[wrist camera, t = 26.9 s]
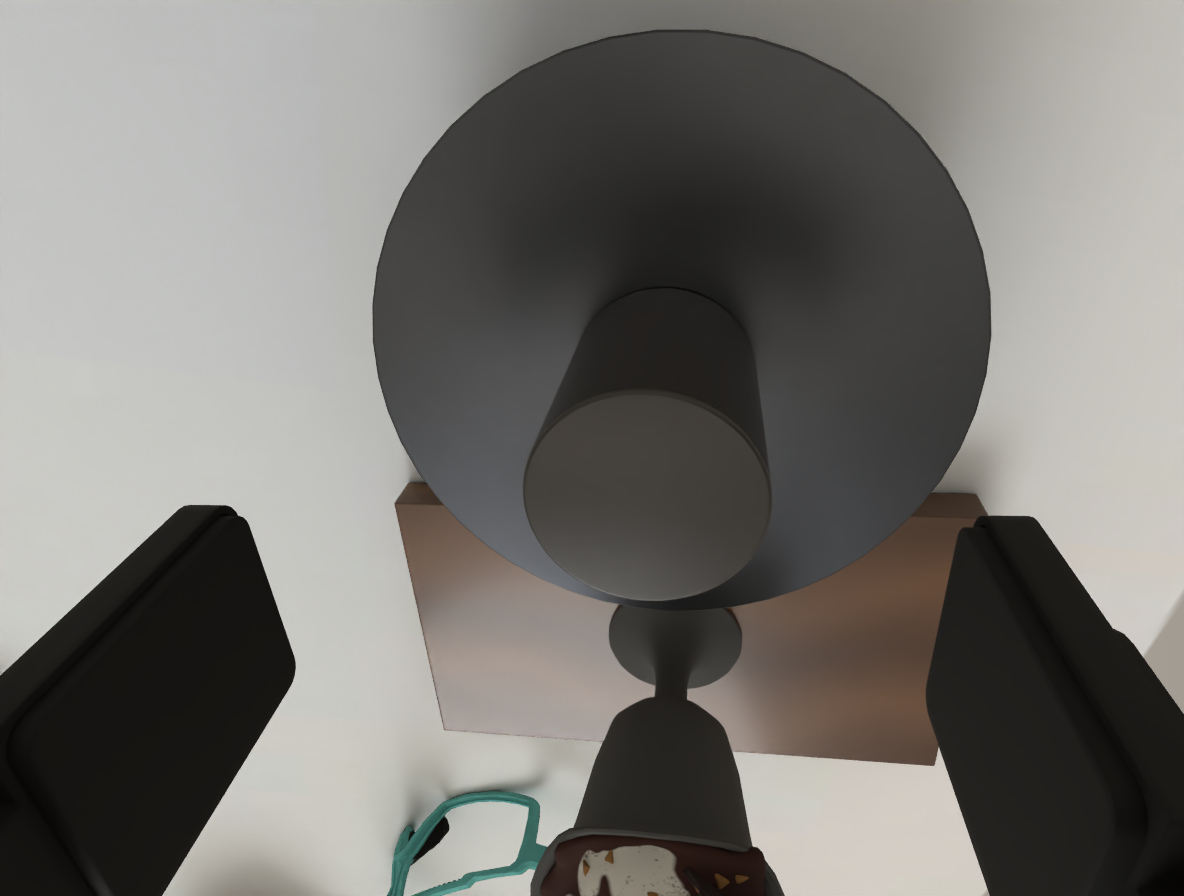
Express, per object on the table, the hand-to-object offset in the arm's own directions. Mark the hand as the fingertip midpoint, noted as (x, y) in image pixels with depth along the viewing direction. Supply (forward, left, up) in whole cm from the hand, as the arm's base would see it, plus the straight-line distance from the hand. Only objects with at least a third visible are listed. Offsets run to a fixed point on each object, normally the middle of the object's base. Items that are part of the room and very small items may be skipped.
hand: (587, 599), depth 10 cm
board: (+13, 0, -15) cm, 20 cm away
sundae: (+13, 0, -14) cm, 19 cm away
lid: (0, +1, -9) cm, 9 cm away
